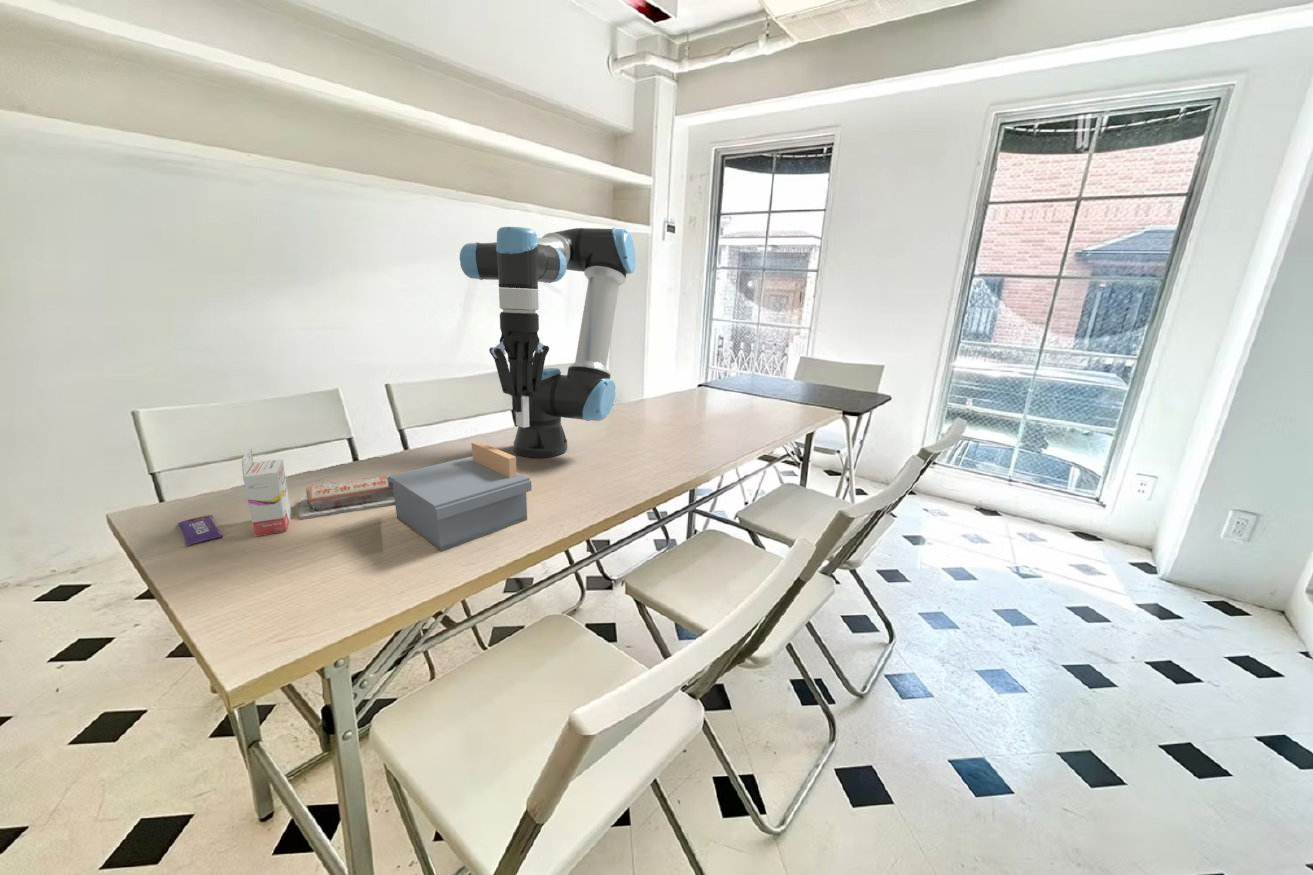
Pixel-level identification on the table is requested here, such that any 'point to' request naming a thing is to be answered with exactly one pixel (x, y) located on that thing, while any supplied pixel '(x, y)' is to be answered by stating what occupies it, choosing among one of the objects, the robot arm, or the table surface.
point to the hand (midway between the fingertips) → (522, 425)
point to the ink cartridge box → (266, 494)
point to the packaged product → (346, 497)
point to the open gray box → (458, 519)
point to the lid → (464, 481)
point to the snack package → (199, 529)
